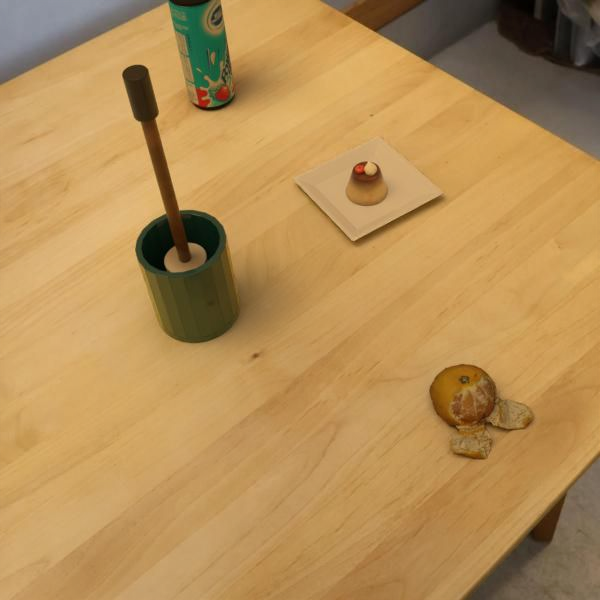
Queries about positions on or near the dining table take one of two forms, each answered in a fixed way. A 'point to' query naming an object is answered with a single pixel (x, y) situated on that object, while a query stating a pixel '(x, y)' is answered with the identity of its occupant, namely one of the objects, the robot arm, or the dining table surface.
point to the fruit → (474, 408)
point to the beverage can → (203, 51)
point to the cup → (190, 279)
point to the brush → (161, 168)
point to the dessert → (367, 187)
